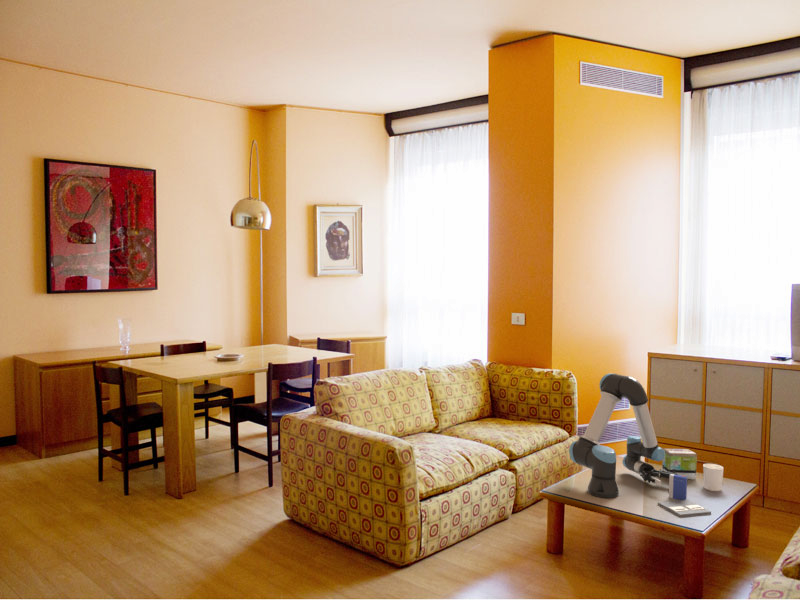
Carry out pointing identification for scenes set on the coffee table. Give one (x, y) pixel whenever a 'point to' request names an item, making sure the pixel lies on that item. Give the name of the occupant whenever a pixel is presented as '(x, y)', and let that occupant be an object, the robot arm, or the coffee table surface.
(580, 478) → the coffee table surface
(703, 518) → the coffee table surface
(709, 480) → the candle holder
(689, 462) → the tea box
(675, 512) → the label board
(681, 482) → the walkman
